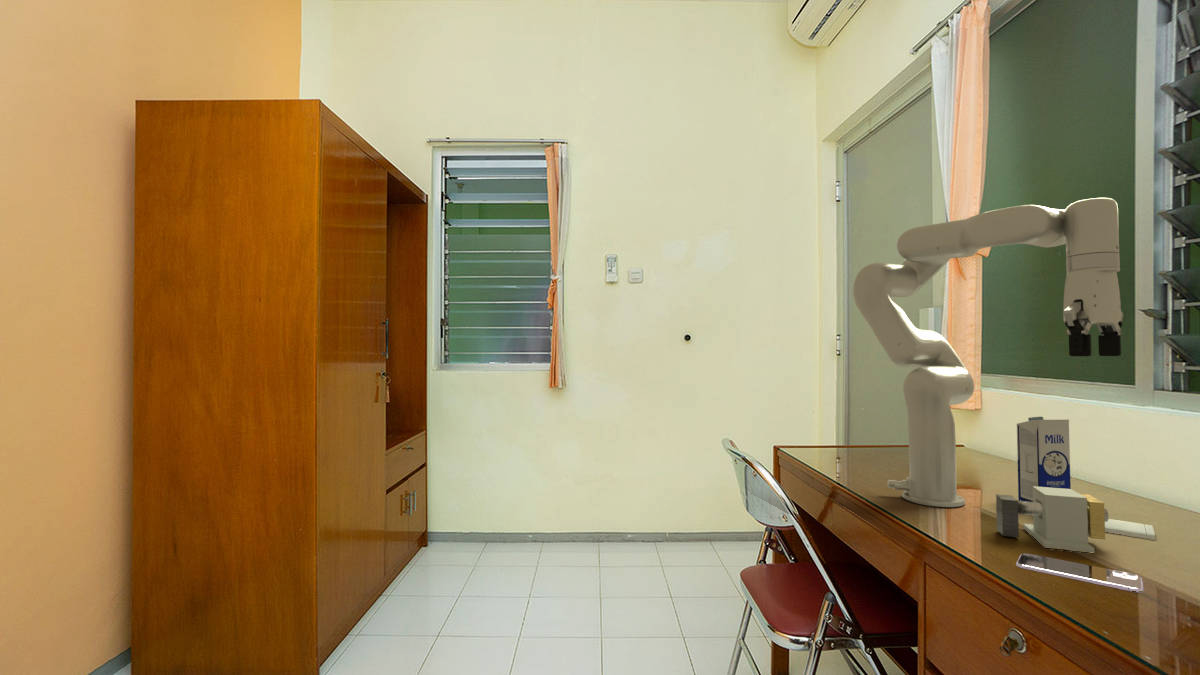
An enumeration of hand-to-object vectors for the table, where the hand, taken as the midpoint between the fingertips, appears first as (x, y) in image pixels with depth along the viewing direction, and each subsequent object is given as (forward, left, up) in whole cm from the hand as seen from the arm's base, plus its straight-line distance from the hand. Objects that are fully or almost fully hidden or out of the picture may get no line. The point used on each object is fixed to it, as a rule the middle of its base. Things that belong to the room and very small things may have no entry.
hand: (1095, 356), depth 104 cm
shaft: (-8, -4, -34) cm, 35 cm away
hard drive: (+5, +9, -35) cm, 37 cm away
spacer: (-3, -4, -32) cm, 33 cm away
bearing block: (-7, -4, -34) cm, 35 cm away
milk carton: (-1, +25, -34) cm, 43 cm away
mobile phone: (-10, -21, -35) cm, 42 cm away
